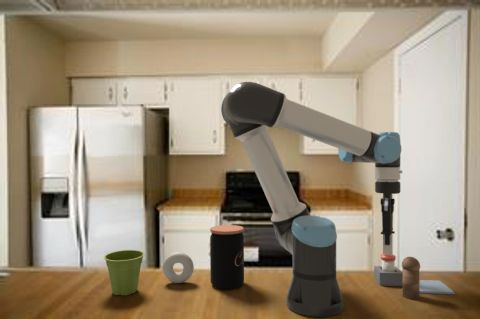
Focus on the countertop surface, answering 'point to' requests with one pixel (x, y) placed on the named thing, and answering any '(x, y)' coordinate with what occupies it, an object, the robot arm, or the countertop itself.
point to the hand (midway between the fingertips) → (387, 254)
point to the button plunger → (388, 263)
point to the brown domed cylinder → (411, 278)
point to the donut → (178, 276)
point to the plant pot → (124, 270)
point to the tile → (434, 287)
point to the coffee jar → (227, 256)
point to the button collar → (388, 277)
